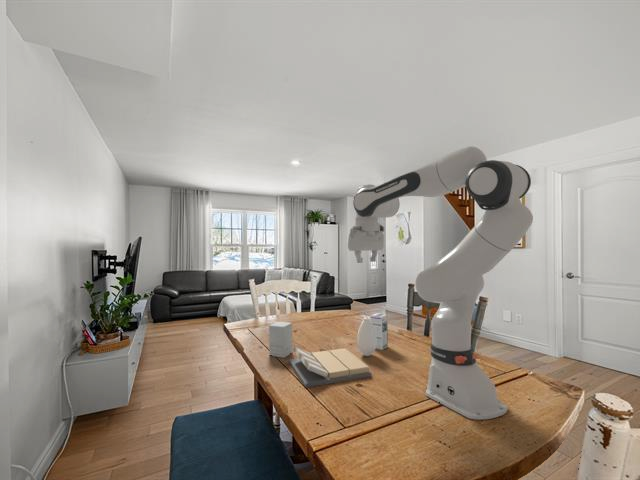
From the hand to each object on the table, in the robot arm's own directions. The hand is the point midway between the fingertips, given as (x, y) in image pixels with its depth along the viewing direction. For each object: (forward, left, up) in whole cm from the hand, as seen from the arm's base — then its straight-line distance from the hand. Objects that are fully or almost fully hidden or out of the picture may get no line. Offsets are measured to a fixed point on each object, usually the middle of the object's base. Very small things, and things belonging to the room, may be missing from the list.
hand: (366, 262), depth 118 cm
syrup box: (+13, -13, -39) cm, 43 cm away
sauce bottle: (+6, -3, -39) cm, 40 cm away
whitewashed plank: (-1, +25, -36) cm, 43 cm away
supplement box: (+20, +30, -39) cm, 53 cm away
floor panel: (-1, +17, -39) cm, 42 cm away
